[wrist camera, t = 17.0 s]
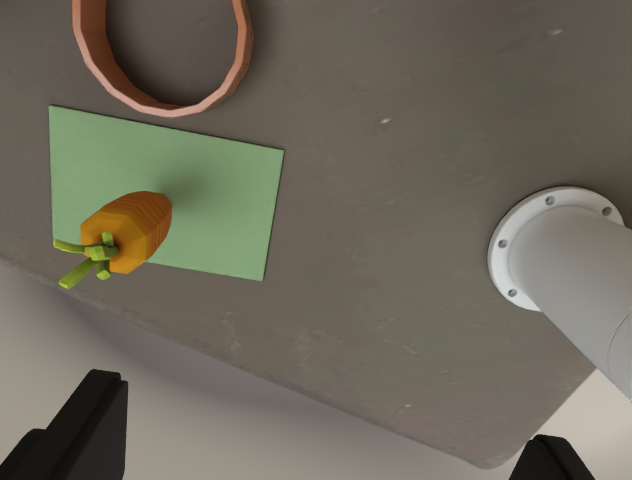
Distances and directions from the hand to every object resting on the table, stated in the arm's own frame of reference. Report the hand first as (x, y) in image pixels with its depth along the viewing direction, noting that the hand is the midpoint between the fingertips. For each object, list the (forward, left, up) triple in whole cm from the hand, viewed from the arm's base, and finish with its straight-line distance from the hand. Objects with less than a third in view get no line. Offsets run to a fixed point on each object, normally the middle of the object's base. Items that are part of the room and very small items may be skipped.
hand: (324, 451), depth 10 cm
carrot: (+13, +5, -30) cm, 33 cm away
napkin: (+13, +5, -30) cm, 33 cm away
